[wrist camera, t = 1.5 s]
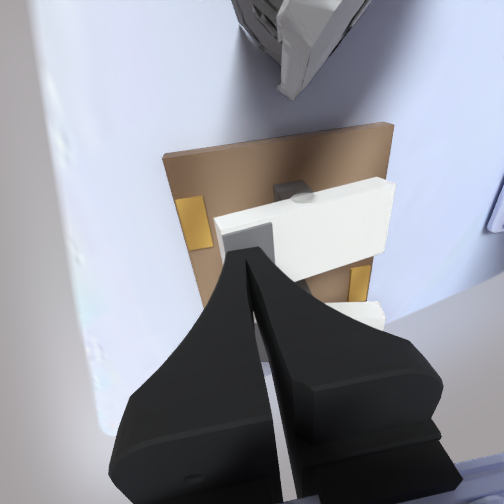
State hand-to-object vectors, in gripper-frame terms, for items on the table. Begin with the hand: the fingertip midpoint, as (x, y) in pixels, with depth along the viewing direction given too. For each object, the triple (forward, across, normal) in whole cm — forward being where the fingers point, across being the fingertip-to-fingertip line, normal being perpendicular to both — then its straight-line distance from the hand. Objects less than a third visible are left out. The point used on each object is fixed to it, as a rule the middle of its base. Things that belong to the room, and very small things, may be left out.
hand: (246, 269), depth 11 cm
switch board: (+6, -3, +3) cm, 7 cm away
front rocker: (+2, -3, 0) cm, 4 cm away
